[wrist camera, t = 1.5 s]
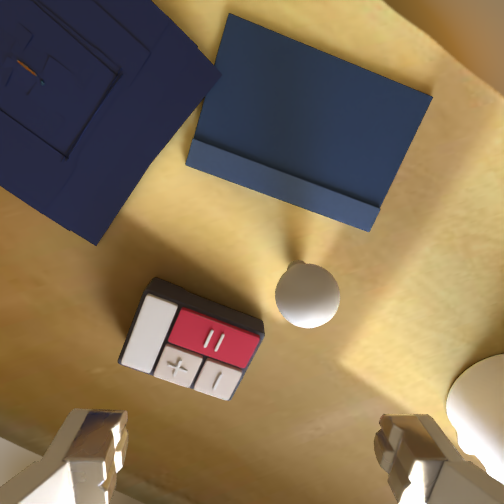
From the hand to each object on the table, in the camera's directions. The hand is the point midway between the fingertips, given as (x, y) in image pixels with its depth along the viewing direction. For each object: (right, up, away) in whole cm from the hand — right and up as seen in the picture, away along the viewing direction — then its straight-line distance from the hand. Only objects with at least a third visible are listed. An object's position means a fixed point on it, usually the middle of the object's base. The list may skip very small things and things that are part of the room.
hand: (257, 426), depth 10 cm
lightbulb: (+5, +4, +27) cm, 28 cm away
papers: (-22, +24, +22) cm, 39 cm away
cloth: (+5, +18, +23) cm, 30 cm away
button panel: (-8, -5, +30) cm, 32 cm away
